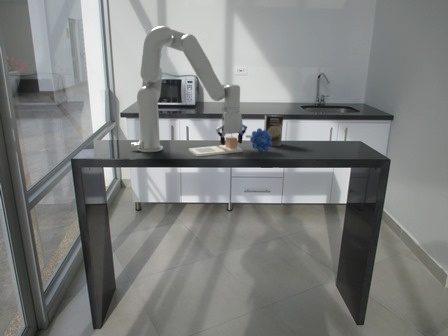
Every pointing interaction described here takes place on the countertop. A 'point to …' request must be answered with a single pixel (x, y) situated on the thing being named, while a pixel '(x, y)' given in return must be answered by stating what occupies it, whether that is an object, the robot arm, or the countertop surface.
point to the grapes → (261, 140)
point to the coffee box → (274, 128)
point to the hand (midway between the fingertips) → (231, 143)
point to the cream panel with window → (208, 151)
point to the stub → (231, 145)
